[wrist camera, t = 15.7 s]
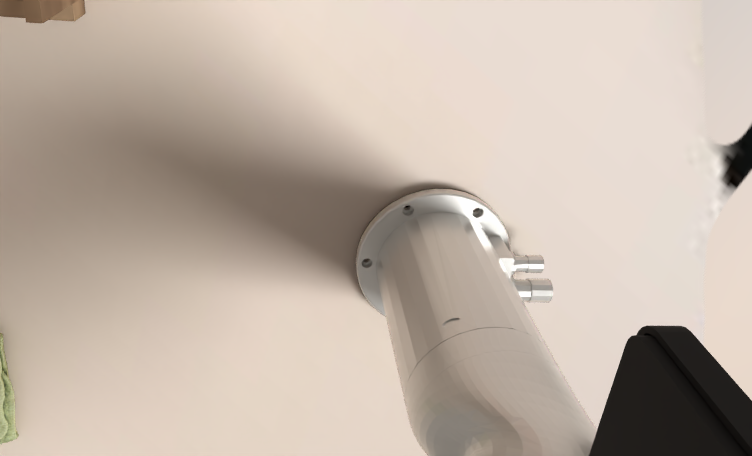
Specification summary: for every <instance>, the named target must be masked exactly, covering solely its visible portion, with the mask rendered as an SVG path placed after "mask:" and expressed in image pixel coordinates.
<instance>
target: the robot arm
mask: <svg viewBox="0 0 752 456" xmlns="http://www.w3.org/2000/svg"><path fill="white" fill-rule="evenodd" d="M408 205H409V207H408V208H404V207H405V206H408ZM475 208H477V209H476V210H474V209H475ZM367 258H368V259H367ZM365 259H366V260H365ZM543 269H544V259H543V257H542V256H541V255H525V256H515V254H514V253H513V252H511V246H510V240H509V236H508V233H507V231H506V228H505V226H504V224H503V223H502V221H501V219H500V218H499V216H498V215H497V214H496V213H495V211H494V210H493V209H492V208H491V207H490V206H489V205H488V204H486V203H485V202H483V201H482V200H481V199H479V198H477V197H475V196H473V195H470V194H468V193H466V192H462V191H457V190H453V189H430V190H423V191H419V192H415V193H412V194H409V195H406V196H404V197H402V198H400V199H398V200H396V201H394V202H392V203H391V204H390V205H388V206H387V207H386V208H384V209H383V210H382V211H380V212H379V213H378V214H377V216H376V217H375V218H374V219H373V220H372V221H371V222H370V223H369V225H368V227H367V228H366V230H365V231H364V233H363V235H362V237H361V240H360V242H359V245H358V248H357V255H356V271H357V277H358V281H359V285H360V288H361V290H362V292H363V294H364V296H365V298H366V299H367V300H368V302H369V303H370V304H371V306H373V307H374V308H375V309H376V310H377V311H378V312H379V313H380V314H382V315H384V316H385V317H386V319H387V324H388V328H389V333H390V337H391V342H392V346H393V351H394V355H395V360H396V364H397V369H398V373H399V378H400V382H401V387H402V391H403V396H404V400H405V404H406V409H407V413H408V417H409V422H410V425H411V428H412V431H413V433H414V436H415V437H416V439H417V441H418V443H419V445H420V446H421V448H422V449H423V450H424V452H425V453H426V454H427V455H428V456H752V401H751V400H750V398H749V397H748V396H747V395H746V394H745V393H744V392H743V390H742V389H741V388H740V387H739V386H738V385H737V384H736V383H735V381H734V380H733V379H732V378H731V377H730V376H729V375H728V373H727V372H726V371H725V370H724V369H723V368H722V367H721V365H720V364H719V363H718V362H717V361H716V360H715V359H714V357H713V356H712V355H711V354H710V353H709V352H708V351H707V350H706V348H705V347H704V346H703V345H702V344H701V343H700V342H699V340H698V339H697V338H696V337H695V336H694V335H693V334H692V332H691V331H689V330H688V329H687V328H686V327H682V326H645V327H642V328H641V329H640V330H639V331H638V333H637V335H635V336H631V337H630V338H629V339H628V341H627V343H626V346H625V349H624V352H623V355H622V358H621V361H620V364H619V367H618V370H617V373H616V376H615V379H614V382H613V385H612V388H611V391H610V394H609V397H608V399H607V402H606V405H605V408H604V411H603V414H602V417H601V420H600V423H599V426H598V429H597V428H596V426H595V425H594V423H593V422H592V421H591V419H590V418H589V416H588V415H587V413H586V412H585V410H584V409H583V407H582V405H581V404H580V402H579V401H578V399H577V398H576V396H575V394H574V392H573V391H572V389H571V387H570V386H569V384H568V382H567V381H566V379H565V377H564V375H563V374H562V372H561V370H560V368H559V366H558V364H557V363H556V361H555V359H554V357H553V355H552V354H551V352H550V350H549V348H548V346H547V345H546V343H545V341H544V339H543V337H542V335H541V334H540V332H539V330H538V328H537V326H536V324H535V323H534V321H533V319H532V317H531V315H530V313H529V311H528V310H527V308H526V306H525V304H524V302H523V301H526V302H540V303H549V302H550V301H551V299H552V296H553V287H552V283H551V281H550V280H549V279H526V280H515V279H514V278H513V276H512V275H513V274H514V273H515V272H526V273H541V272H542V271H543Z"/></svg>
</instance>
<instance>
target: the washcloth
mask: <svg viewBox="0 0 752 456" xmlns="http://www.w3.org/2000/svg"><path fill="white" fill-rule="evenodd" d="M18 436H19V434H18V433H17V431H16V427H15V399H14V391H13V388H12V384H11V382H10V379H9V376H8V368H7V362H6V358H5V352H4V348H3V334H2V333H0V444H2V443H7V442H9V441H13V440H15V439H17V437H18Z"/></svg>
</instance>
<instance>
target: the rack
mask: <svg viewBox="0 0 752 456" xmlns="http://www.w3.org/2000/svg"><path fill="white" fill-rule="evenodd" d="M84 14H85V5H84V0H0V16H3V17H18V18H26V22H30V23H44V22H45V21H47V20H61V21H76V20H77V19H78V18H80V17H81V16H83V15H84Z"/></svg>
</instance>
